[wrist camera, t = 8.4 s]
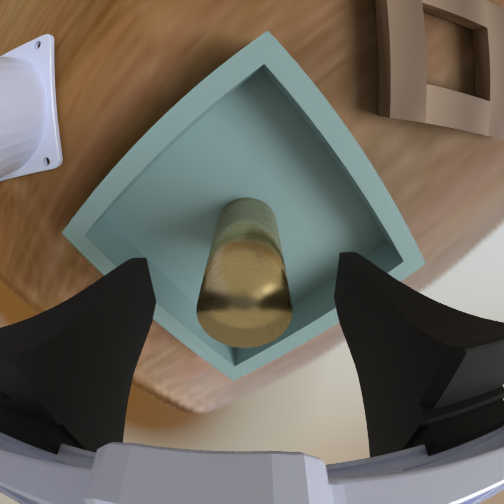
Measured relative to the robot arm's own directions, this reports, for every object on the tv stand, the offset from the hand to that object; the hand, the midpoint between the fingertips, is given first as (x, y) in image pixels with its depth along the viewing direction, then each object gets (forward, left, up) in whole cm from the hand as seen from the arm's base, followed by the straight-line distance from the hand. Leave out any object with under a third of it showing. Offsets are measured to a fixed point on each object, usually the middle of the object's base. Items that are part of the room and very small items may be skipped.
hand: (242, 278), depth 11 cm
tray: (0, 0, -6) cm, 6 cm away
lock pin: (0, 0, -5) cm, 5 cm away
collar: (+11, +10, -6) cm, 16 cm away
